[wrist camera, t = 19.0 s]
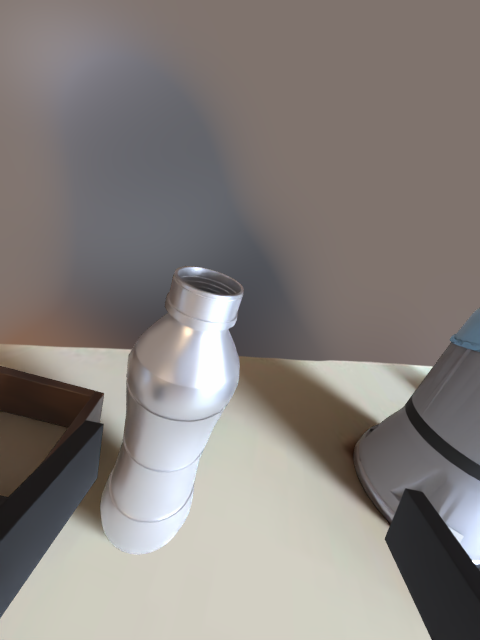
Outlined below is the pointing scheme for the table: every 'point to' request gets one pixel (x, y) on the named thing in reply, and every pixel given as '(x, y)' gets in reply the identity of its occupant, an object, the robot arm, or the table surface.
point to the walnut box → (48, 401)
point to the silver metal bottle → (172, 409)
